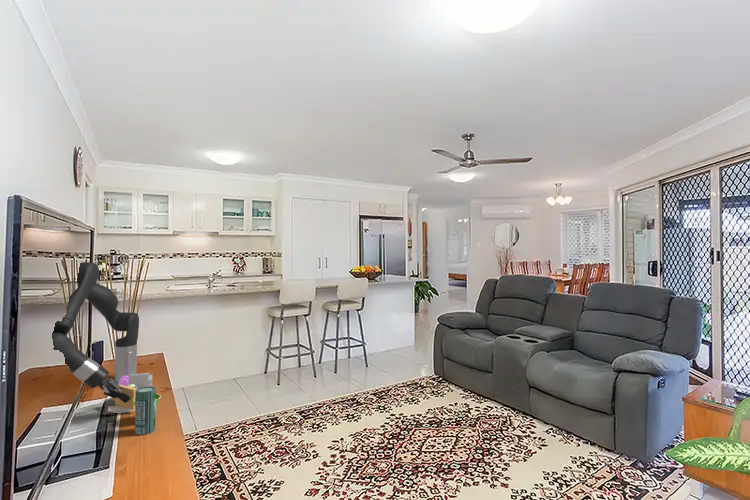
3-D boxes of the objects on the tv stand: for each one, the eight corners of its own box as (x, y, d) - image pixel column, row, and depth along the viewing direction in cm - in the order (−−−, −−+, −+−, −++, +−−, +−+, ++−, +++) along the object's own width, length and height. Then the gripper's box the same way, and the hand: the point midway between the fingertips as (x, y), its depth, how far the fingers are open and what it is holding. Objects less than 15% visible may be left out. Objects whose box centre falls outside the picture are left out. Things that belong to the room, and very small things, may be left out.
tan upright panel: (102, 404, 164) (103, 384, 164) (115, 400, 168) (115, 381, 168) (129, 411, 157) (129, 391, 157) (141, 407, 161) (141, 387, 161)
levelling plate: (108, 397, 175) (109, 375, 175) (157, 391, 184) (157, 370, 184) (101, 415, 156) (101, 391, 156) (155, 408, 165) (155, 384, 165)
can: (158, 428, 146) (159, 387, 146) (145, 436, 140) (146, 392, 140) (144, 426, 148) (145, 385, 148) (130, 434, 142) (131, 391, 142)
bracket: (117, 395, 179) (118, 379, 179) (119, 391, 184) (119, 376, 184) (151, 391, 184) (151, 376, 184) (151, 387, 189) (152, 372, 189)
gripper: (96, 369, 148) (134, 398, 154) (102, 360, 160) (137, 387, 165) (78, 386, 146) (117, 414, 151) (85, 375, 157) (121, 402, 163)
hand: (127, 400), depth 158 cm, fingers closed
